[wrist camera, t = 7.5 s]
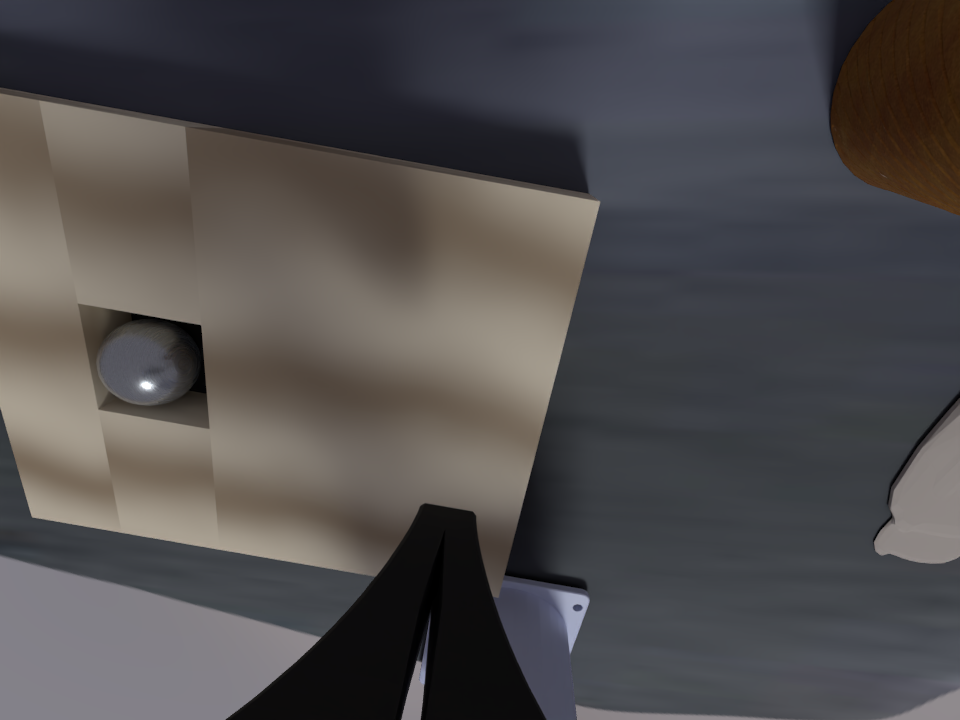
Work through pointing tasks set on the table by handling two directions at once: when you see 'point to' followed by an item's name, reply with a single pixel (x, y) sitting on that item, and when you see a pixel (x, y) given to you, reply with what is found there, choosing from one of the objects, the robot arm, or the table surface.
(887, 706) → the table surface
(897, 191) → the disposable coffee cup
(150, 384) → the steel ball
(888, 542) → the beige bookend
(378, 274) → the birch plate
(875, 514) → the table surface
